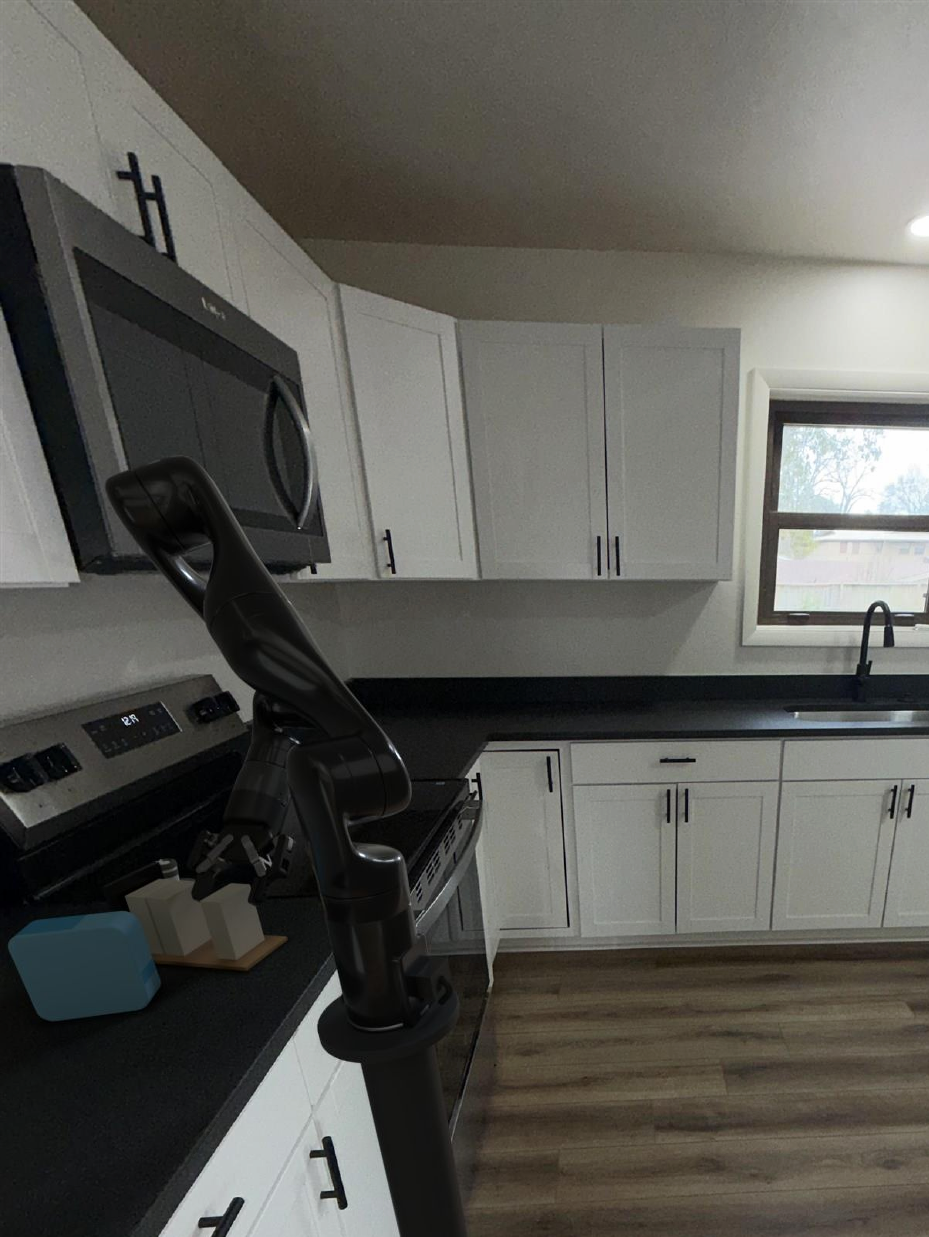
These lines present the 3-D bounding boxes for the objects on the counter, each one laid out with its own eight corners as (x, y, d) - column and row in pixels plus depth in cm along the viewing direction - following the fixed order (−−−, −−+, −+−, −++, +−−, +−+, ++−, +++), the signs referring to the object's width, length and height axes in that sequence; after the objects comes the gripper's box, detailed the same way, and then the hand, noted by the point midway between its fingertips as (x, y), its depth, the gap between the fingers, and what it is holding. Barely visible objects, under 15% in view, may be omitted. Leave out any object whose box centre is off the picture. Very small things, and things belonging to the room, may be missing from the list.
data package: (164, 990, 94) (136, 908, 89) (152, 1009, 90) (121, 924, 85) (58, 1004, 91) (22, 920, 86) (40, 1024, 87) (2, 937, 82)
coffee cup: (173, 905, 117) (164, 877, 115) (113, 899, 119) (103, 871, 117) (228, 876, 128) (220, 850, 126) (171, 871, 130) (163, 846, 128)
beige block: (264, 939, 105) (249, 884, 101) (236, 960, 100) (219, 902, 96) (246, 938, 105) (230, 883, 102) (217, 958, 100) (199, 901, 96)
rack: (288, 939, 106) (269, 868, 101) (246, 971, 98) (224, 895, 93) (177, 931, 109) (154, 861, 104) (128, 961, 101) (101, 886, 96)
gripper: (199, 785, 102) (160, 890, 96) (289, 788, 100) (255, 896, 94) (234, 809, 109) (200, 908, 103) (319, 812, 107) (289, 914, 101)
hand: (226, 903), depth 99 cm, fingers open, 8 cm apart
